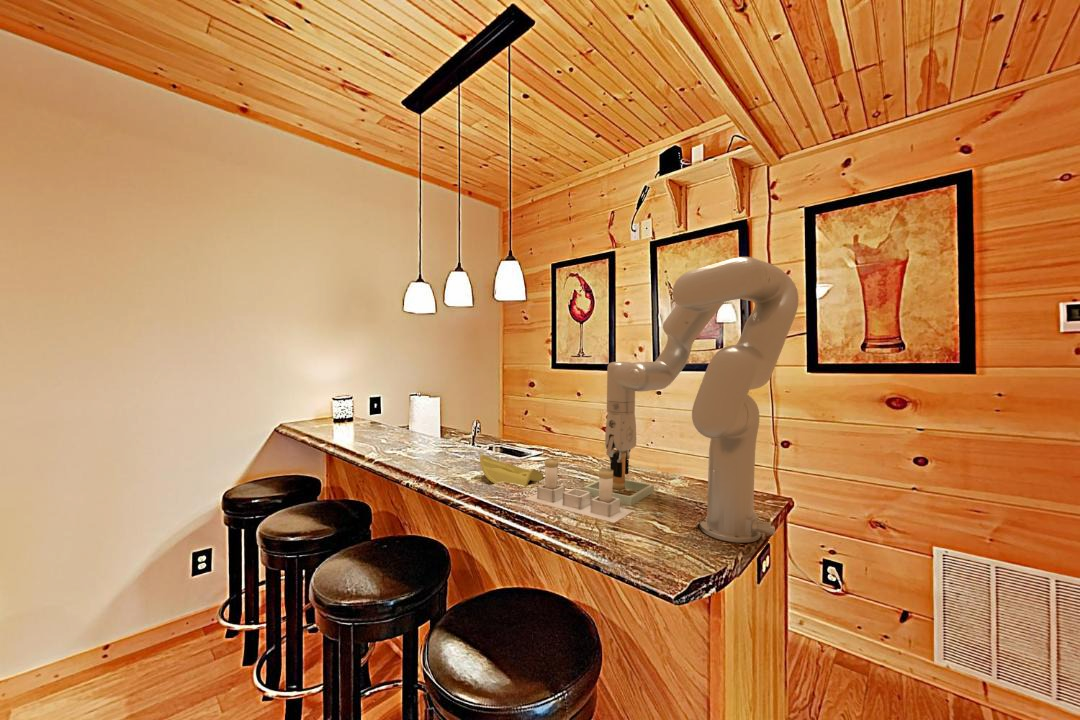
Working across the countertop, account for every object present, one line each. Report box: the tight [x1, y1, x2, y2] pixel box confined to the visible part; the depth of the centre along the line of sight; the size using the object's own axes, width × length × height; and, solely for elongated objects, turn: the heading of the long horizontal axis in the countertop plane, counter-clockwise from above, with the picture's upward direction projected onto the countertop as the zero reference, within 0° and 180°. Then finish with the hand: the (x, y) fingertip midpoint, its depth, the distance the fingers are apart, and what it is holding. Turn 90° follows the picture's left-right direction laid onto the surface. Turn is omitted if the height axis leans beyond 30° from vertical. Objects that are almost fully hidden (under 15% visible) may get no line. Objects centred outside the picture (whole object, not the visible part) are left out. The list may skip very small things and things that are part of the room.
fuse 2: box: [598, 468, 613, 503], centre depth 111 cm, size 3×3×10 cm
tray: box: [582, 478, 655, 507], centre depth 126 cm, size 14×14×4 cm
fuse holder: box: [524, 483, 634, 524], centre depth 116 cm, size 10×26×4 cm, turn 53°
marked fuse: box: [612, 451, 626, 491], centre depth 126 cm, size 3×3×10 cm
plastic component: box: [479, 454, 545, 487], centre depth 140 cm, size 20×7×10 cm
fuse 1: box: [544, 457, 559, 490], centre depth 121 cm, size 3×3×10 cm
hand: (619, 474), depth 126 cm, fingers closed on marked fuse, 3 cm apart
